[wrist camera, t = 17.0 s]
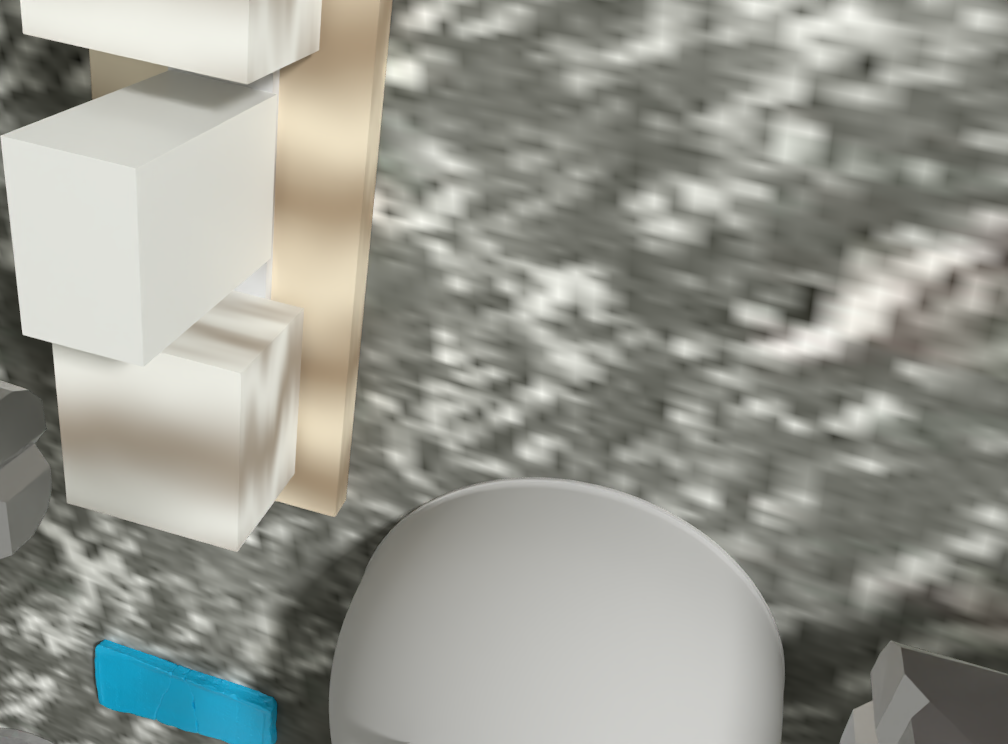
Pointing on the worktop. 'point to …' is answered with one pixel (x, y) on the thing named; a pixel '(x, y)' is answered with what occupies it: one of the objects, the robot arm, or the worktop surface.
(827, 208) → the worktop surface
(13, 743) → the mate gourd
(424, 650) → the kettle
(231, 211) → the block
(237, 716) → the sponge
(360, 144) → the rail board
